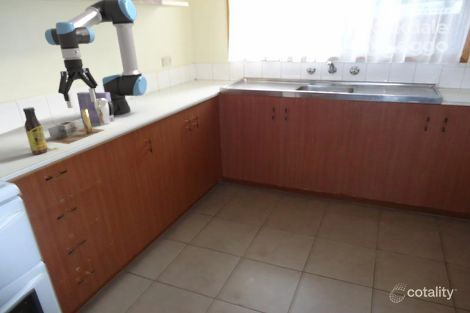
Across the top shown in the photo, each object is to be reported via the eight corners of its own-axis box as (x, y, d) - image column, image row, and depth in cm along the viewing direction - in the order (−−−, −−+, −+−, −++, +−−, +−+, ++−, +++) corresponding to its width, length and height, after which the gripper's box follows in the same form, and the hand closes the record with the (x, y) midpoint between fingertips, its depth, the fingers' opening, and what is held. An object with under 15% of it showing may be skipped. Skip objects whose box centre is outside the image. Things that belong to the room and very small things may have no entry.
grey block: (79, 129, 169) (76, 117, 167) (88, 130, 166) (85, 118, 164) (58, 136, 159) (55, 124, 156) (67, 137, 156) (64, 125, 154)
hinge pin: (90, 132, 162) (84, 108, 158) (94, 132, 161) (88, 109, 157) (85, 134, 160) (79, 110, 155) (89, 134, 159) (84, 110, 154)
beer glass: (98, 128, 173) (92, 101, 167) (99, 125, 179) (94, 98, 173) (112, 127, 175) (106, 99, 169) (113, 123, 181) (107, 97, 175)
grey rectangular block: (69, 131, 164) (66, 121, 162) (78, 132, 161) (75, 122, 159) (47, 139, 154) (44, 128, 152) (56, 140, 151) (53, 129, 149)
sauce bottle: (40, 155, 139) (26, 110, 132) (28, 154, 141) (14, 110, 133) (52, 149, 145) (39, 106, 137) (41, 149, 147) (28, 106, 139)
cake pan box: (117, 122, 184) (111, 91, 177) (112, 124, 179) (105, 92, 173) (87, 121, 188) (80, 91, 182) (82, 124, 184) (74, 93, 177)
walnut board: (83, 130, 172) (82, 127, 172) (105, 132, 166) (104, 129, 165) (45, 143, 154) (45, 140, 153) (68, 147, 147) (68, 143, 147)
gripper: (53, 61, 135) (65, 111, 143) (99, 56, 156) (108, 99, 164) (41, 61, 138) (54, 110, 146) (88, 56, 159) (97, 99, 167)
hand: (82, 104), depth 155 cm, fingers open, 13 cm apart
